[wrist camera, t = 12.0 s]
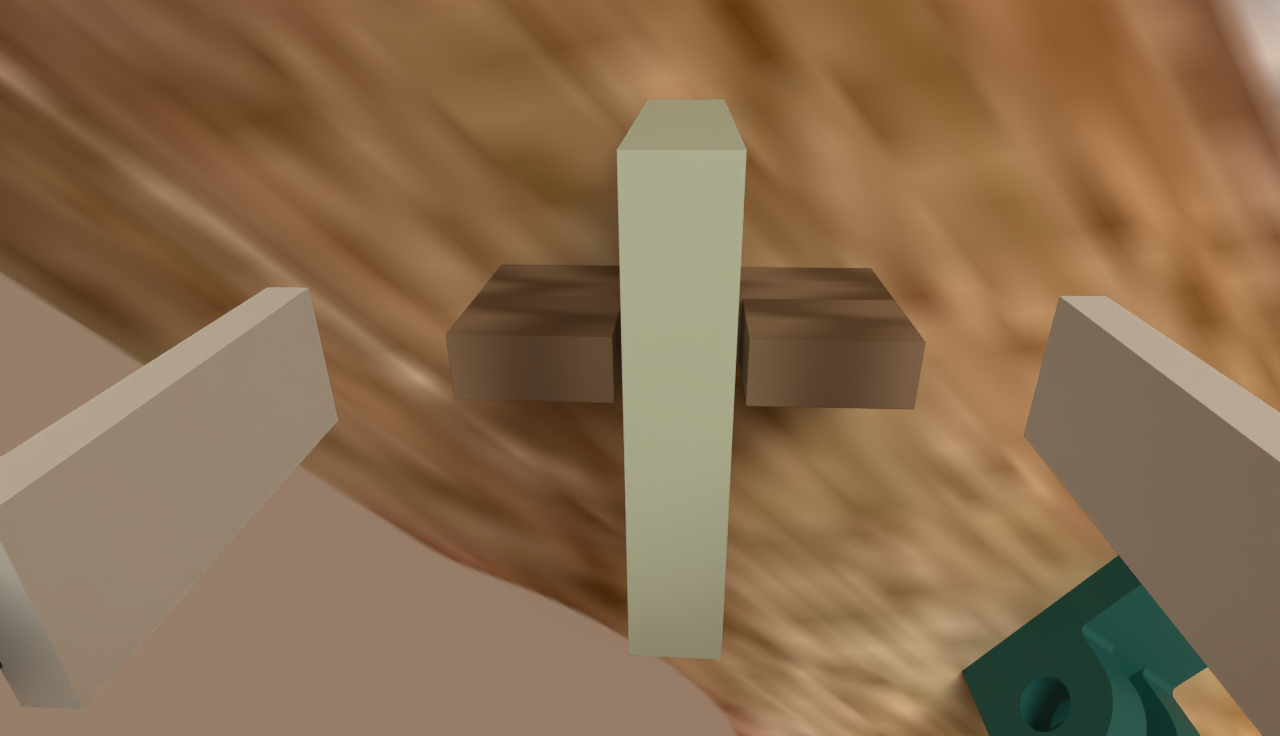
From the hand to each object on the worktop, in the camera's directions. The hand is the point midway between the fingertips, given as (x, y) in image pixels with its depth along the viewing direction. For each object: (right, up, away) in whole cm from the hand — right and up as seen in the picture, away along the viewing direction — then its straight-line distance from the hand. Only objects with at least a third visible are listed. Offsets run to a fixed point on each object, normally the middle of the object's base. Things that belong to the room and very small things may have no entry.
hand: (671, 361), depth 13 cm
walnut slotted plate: (+1, +3, +19) cm, 19 cm away
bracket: (+25, -12, +25) cm, 38 cm away
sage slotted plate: (+1, +3, +19) cm, 19 cm away
